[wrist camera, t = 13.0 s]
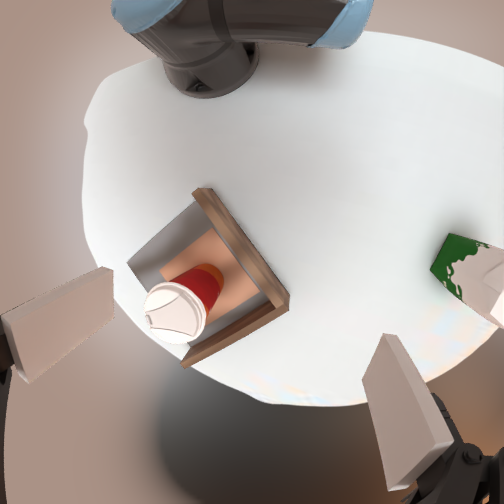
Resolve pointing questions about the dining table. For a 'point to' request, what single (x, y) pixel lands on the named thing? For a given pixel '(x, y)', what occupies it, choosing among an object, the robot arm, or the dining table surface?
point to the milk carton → (473, 275)
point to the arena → (229, 264)
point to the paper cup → (183, 304)
